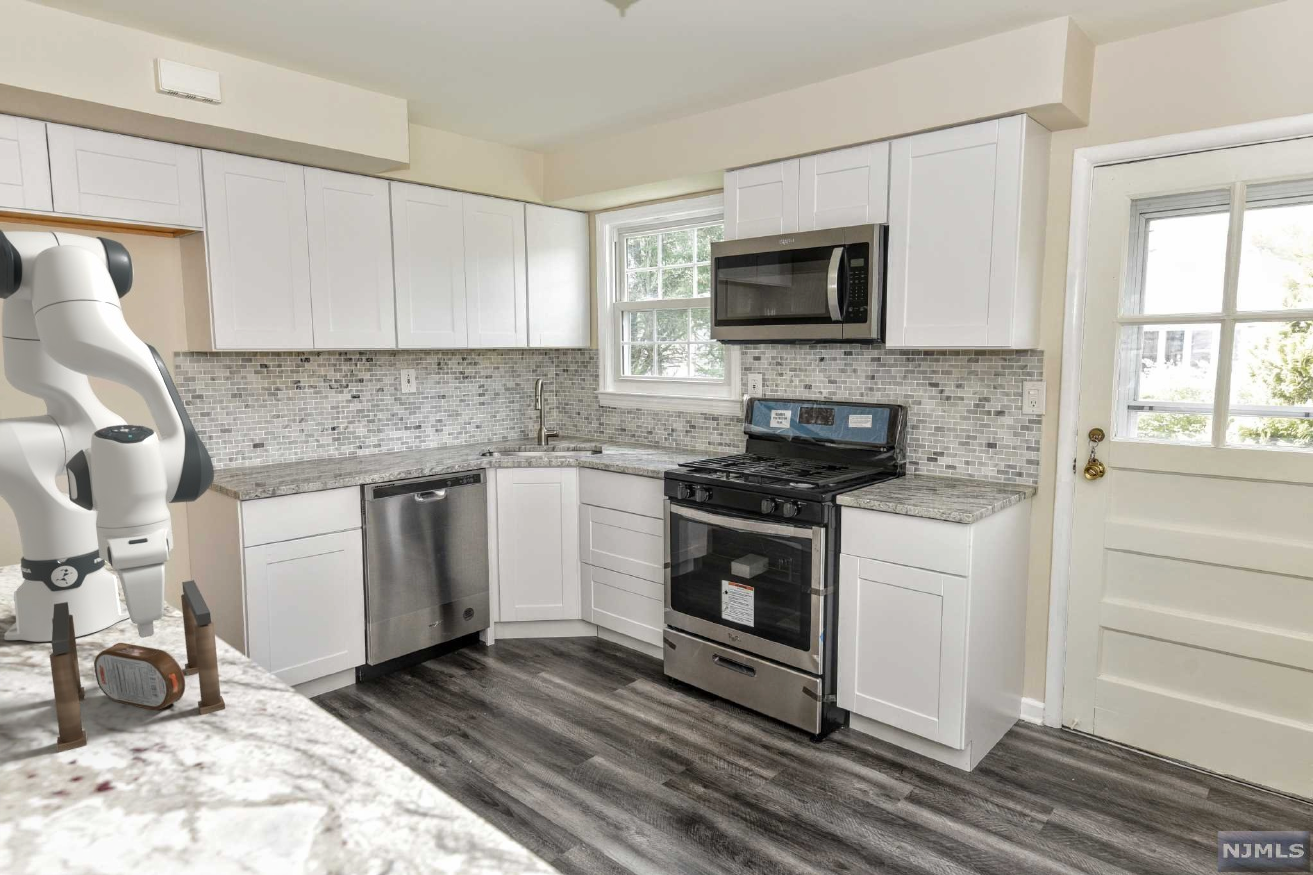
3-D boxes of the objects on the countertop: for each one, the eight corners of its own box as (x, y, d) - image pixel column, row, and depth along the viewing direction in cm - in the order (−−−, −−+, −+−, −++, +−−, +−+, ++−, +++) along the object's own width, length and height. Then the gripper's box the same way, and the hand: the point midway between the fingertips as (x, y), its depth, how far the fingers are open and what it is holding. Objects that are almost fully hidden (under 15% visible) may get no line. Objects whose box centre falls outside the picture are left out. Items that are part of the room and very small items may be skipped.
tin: (189, 706, 112) (184, 650, 111) (169, 716, 109) (163, 659, 108) (114, 691, 117) (108, 637, 116) (93, 700, 114) (86, 645, 113)
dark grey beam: (183, 591, 123) (182, 582, 123) (194, 589, 124) (193, 580, 123) (198, 625, 108) (197, 614, 108) (211, 623, 109) (210, 612, 109)
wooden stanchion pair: (59, 697, 115) (49, 616, 113) (206, 663, 126) (199, 590, 125) (57, 752, 100) (46, 660, 98) (225, 708, 111) (217, 625, 109)
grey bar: (55, 614, 113) (54, 604, 113) (69, 612, 114) (67, 601, 114) (53, 655, 99) (51, 643, 99) (68, 652, 100) (67, 640, 100)
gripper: (106, 529, 117) (116, 618, 119) (112, 560, 101) (123, 662, 103) (156, 523, 121) (164, 608, 123) (169, 552, 105) (179, 650, 106)
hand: (146, 633), depth 113 cm, fingers closed
